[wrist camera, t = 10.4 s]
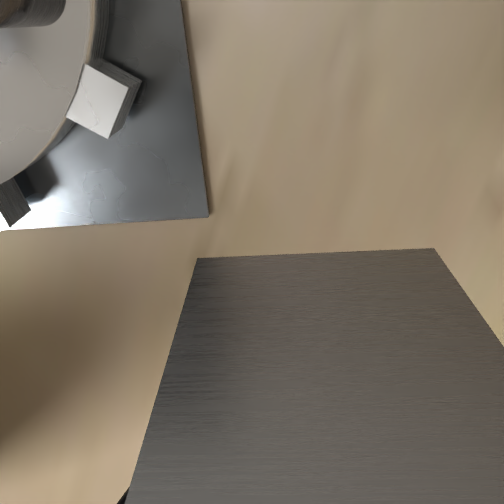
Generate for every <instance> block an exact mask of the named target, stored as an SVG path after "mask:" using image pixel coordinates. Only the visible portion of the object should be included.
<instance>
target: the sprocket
mask: <svg viewBox="0 0 504 504" xmlns="http://www.w3.org/2000/svg"><path fill="white" fill-rule="evenodd" d="M108 25H109V0H0V231H1V230H5V229H8V228H10V227H12V226H13V225H14V224H15V223H16V222H18V221H19V220H20V219H21V218H23V217H24V216H25V215H26V214H27V213H29V212H30V211H31V208H30V207H29V205H28V203H27V201H26V199H25V197H24V196H23V194H22V192H21V190H20V188H19V186H18V185H17V183H16V181H15V179H14V176H15V175H17V174H18V173H20V172H21V171H23V170H25V169H26V168H28V167H29V166H31V165H33V164H34V163H36V162H37V161H38V160H40V159H41V158H42V157H43V156H45V155H46V154H47V153H48V152H49V151H51V150H52V149H53V148H54V147H55V146H56V145H57V144H58V143H59V142H60V141H61V140H62V139H63V137H64V136H65V135H66V134H67V133H68V132H69V131H70V130H71V128H72V127H73V125H74V124H75V122H76V123H78V124H80V125H82V126H84V127H86V128H88V129H90V130H91V131H93V132H95V133H97V134H99V135H101V136H103V137H105V138H107V139H109V138H110V137H111V136H112V135H114V134H115V133H116V132H118V131H119V130H120V129H122V128H123V126H124V123H125V121H126V118H127V116H128V114H129V111H130V109H131V106H132V104H133V101H134V99H135V97H136V94H137V92H138V89H139V87H140V85H141V82H142V81H141V80H140V79H138V78H136V77H134V76H133V75H131V74H129V73H127V72H125V71H124V70H122V69H120V68H118V67H116V66H115V65H113V64H111V63H109V62H107V61H106V60H104V59H103V56H104V51H105V44H106V38H107V31H108Z"/></svg>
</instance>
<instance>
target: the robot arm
mask: <svg viewBox="0 0 504 504" xmlns="http://www.w3.org/2000/svg"><path fill="white" fill-rule="evenodd" d="M128 491H129V488H128V489H127V491H126V492H125V493H124V495H123V496H122V497H121V499H120V500H119V501H118V503H117V504H125V501H126V498H127V494H128Z"/></svg>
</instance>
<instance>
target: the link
mask: <svg viewBox="0 0 504 504" xmlns="http://www.w3.org/2000/svg"><path fill="white" fill-rule="evenodd" d="M125 504H504V347H503V345H502V344H501V342H500V341H499V340H498V338H497V337H496V335H495V334H494V332H493V331H492V330H491V328H490V327H489V325H488V324H487V323H486V321H485V320H484V318H483V317H482V316H481V314H480V313H479V311H478V310H477V308H476V307H475V306H474V304H473V303H472V301H471V300H470V299H469V297H468V296H467V294H466V293H465V291H464V290H463V289H462V287H461V286H460V284H459V283H458V282H457V280H456V279H455V277H454V276H453V275H452V273H451V272H450V270H449V269H448V267H447V266H446V265H445V263H444V262H443V260H442V259H441V258H440V256H439V255H438V253H437V252H436V250H435V249H434V248H427V249H403V250H380V251H356V252H333V253H309V254H286V255H263V256H239V257H216V258H197V261H196V265H195V268H194V271H193V275H192V278H191V282H190V285H189V288H188V292H187V295H186V298H185V302H184V305H183V309H182V312H181V315H180V319H179V322H178V325H177V329H176V332H175V336H174V339H173V342H172V346H171V349H170V352H169V356H168V359H167V363H166V366H165V369H164V373H163V376H162V379H161V383H160V386H159V390H158V393H157V396H156V400H155V403H154V406H153V410H152V413H151V417H150V420H149V423H148V427H147V430H146V433H145V437H144V440H143V444H142V447H141V450H140V454H139V457H138V460H137V464H136V467H135V471H134V474H133V477H132V481H131V484H130V487H129V491H128V494H127V498H126V501H125Z"/></svg>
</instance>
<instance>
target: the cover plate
mask: <svg viewBox="0 0 504 504" xmlns="http://www.w3.org/2000/svg"><path fill="white" fill-rule="evenodd" d="M103 59H104V60H106V61H107V62H109V63H111V64H113V65H115V66H116V67H118V68H120V69H122V70H124V71H125V72H127V73H129V74H131V75H133V76H134V77H136V78H138V79H140V80H141V81H142V82H141V85H140V87H139V89H138V92H137V94H136V97H135V99H134V101H133V104H132V106H131V109H130V111H129V114H128V116H127V118H126V121H125V123H124V126H123V128H122V129H120V130H119V131H118V132H116V133H115V134H114V135H112V136H111V137H110V138H109V139H107V138H105V137H103V136H101V135H99V134H97V133H95V132H93V131H91V130H90V129H88V128H86V127H84V126H82V125H80V124H78V123H76V122H75V124H74V125H73V127H72V128H71V130H70V131H69V132H68V133H67V134H66V135H65V136H64V137H63V139H62V140H61V141H60V142H59V143H58V144H57V145H56V146H55V147H54V148H53V149H52V150H51V151H49V152H48V153H47V154H46V155H45V156H43V157H42V158H41V159H40V160H38V161H37V162H36V163H34V164H33V165H31V166H29V167H28V168H26V169H25V170H23V171H21V172H20V173H18V174H17V175H15V176H14V179H15V181H16V183H17V185H18V186H19V188H20V190H21V192H22V194H23V196H24V197H25V199H26V201H27V203H28V205H29V207H30V208H31V211H30V212H29V213H27V214H26V215H25V216H24V217H23V218H21V219H20V220H19V221H18V222H16V223H15V224H14V225H13V226H12V227H10V228H8V229H5V230H14V229H30V228H46V227H62V226H78V225H94V224H111V223H127V222H143V221H159V220H175V219H191V218H208V217H209V209H208V201H207V193H206V186H205V178H204V171H203V163H202V156H201V148H200V141H199V133H198V125H197V118H196V110H195V103H194V95H193V88H192V80H191V73H190V65H189V57H188V50H187V42H186V35H185V27H184V20H183V12H182V4H181V0H109V25H108V31H107V38H106V44H105V51H104V56H103Z"/></svg>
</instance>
